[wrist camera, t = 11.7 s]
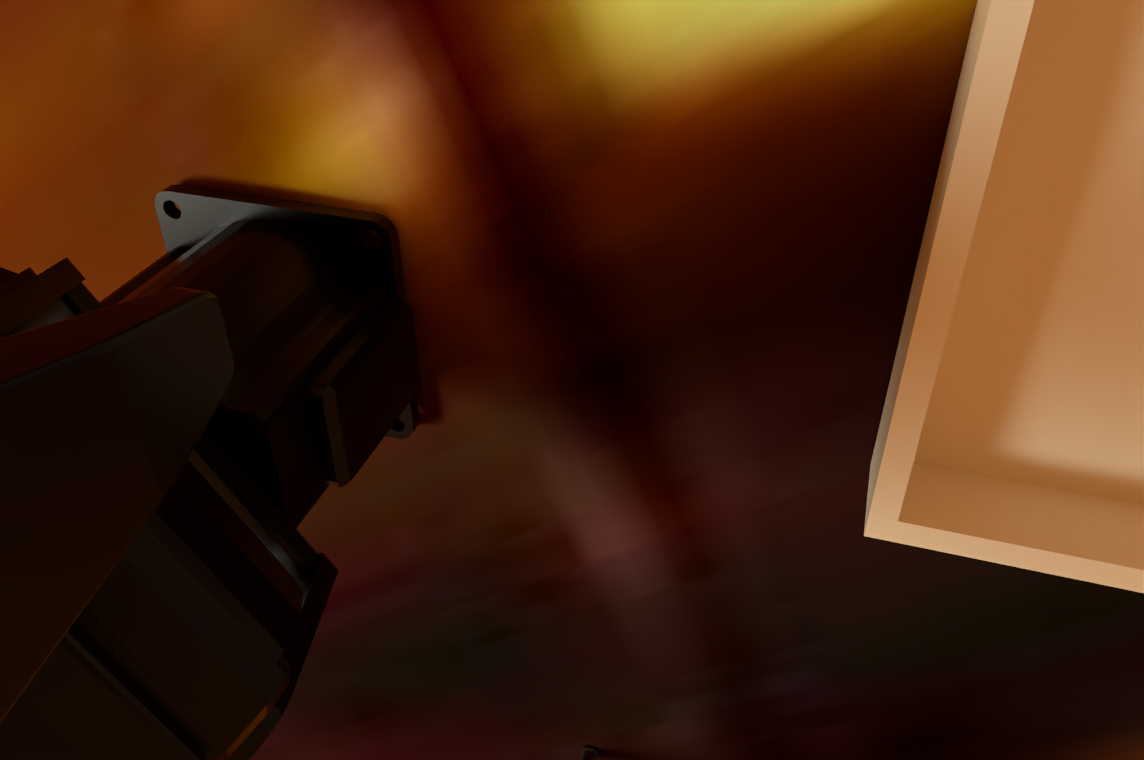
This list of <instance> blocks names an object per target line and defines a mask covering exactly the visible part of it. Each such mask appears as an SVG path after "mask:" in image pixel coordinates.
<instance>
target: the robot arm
mask: <svg viewBox="0 0 1144 760" xmlns="http://www.w3.org/2000/svg"><path fill="white" fill-rule="evenodd" d="M173 202H175V203H176V204H177V205H178V206H179V208H180V210H181V211H179V210H178V209H177V208H176V207H175V205H174V203H173ZM155 208H156V212H157V216H158V220H159V223H160V227H161V231H162V234H163V238H164V242H165V246H166V249H167V254H165V255H164V256H163V257H161V258H160V259H158V260H157V261H156V262H154V263H153V264H152V265H150V266H149V267H147V268H146V269H145V270H143V271H142V272H141V273H139V274H138V275H136V276H135V277H134V278H132V279H131V280H130V281H128V282H127V283H125V284H124V285H123V286H121V287H120V288H119V289H117V290H116V291H114V292H113V293H112V294H110V295H109V296H108V297H106V298H105V299H103V300H102V301H101V302H99V301H98V300H97V299H96V298H95V297H94V296H93V295H92V293H91V292H90V291H89V290H88V289H87V288H86V286H85V285H84V284H83V283H82V281H83V280H85V278H84V277H83V276H82V274H81V273H80V272H79V271H78V270H77V269H76V268H75V266H74V265H73V264H72V263H71V262H70V261H69V259H68V258H67V257H66V258H65V259H63V260H62V261H60V262H58V263H57V264H55V265H53V266H52V267H50V268H49V269H47V270H45V271H44V272H42V273H41V274H39V275H36V274H35V272H34V271H33V270H32V269H31V268H30V267H29V268H28V269H26V270H24V271H22V272H21V273H19V274H17V273H15V272H12V271H9V270H6V269H4V268H1V267H0V760H249V759H250V758H251V757H252V756H253V755H254V753H255V752H256V751H257V750H258V748H259V747H260V746H261V745H262V744H263V742H264V741H265V740H266V739H267V737H268V736H269V735H270V733H271V732H272V730H273V729H274V727H275V726H276V724H277V723H278V721H279V720H280V718H281V716H282V715H283V713H284V711H285V709H286V707H287V705H288V702H289V700H290V698H291V696H292V693H293V691H294V688H295V685H296V683H297V680H298V677H299V675H300V672H301V669H302V667H303V664H304V661H305V659H306V656H307V653H308V651H309V648H310V645H311V643H312V640H313V637H314V635H315V632H316V629H317V627H318V624H319V622H320V619H321V616H322V614H323V611H324V608H325V606H326V603H327V600H328V598H329V595H330V592H331V590H332V587H333V584H334V582H335V579H336V576H337V574H338V570H337V568H336V567H335V566H334V565H333V564H332V563H331V562H330V560H329V559H328V558H327V557H326V556H325V555H324V554H323V553H317V552H316V551H315V550H314V548H313V547H312V546H311V545H310V544H309V543H308V542H307V540H306V539H305V538H304V537H303V536H302V535H301V534H300V532H299V531H298V530H297V529H296V528H297V526H298V525H299V524H300V522H301V521H302V520H303V519H304V517H305V516H306V515H307V513H308V512H309V511H310V509H311V508H312V507H313V506H314V504H315V503H316V502H317V500H318V499H319V498H320V497H321V495H322V494H323V493H324V491H325V490H326V489H327V487H328V486H329V485H334V486H339V487H343V486H344V485H346V484H347V483H348V482H349V481H351V480H352V479H353V478H354V476H355V475H356V474H357V472H358V471H359V470H360V468H361V467H362V466H363V464H364V463H365V462H366V460H367V459H368V458H369V456H370V455H371V454H372V452H373V451H374V450H375V448H376V447H377V446H378V444H379V443H380V442H381V440H382V439H383V438H384V436H388V437H393V438H398V439H405V438H407V437H410V435H411V434H412V433H413V431H414V430H415V428H416V427H417V426H418V424H419V411H418V403H417V394H416V393H417V392H418V391H419V389H420V386H421V384H420V375H419V366H418V357H417V348H416V339H415V329H414V320H413V311H412V308H411V306H410V305H409V303H408V301H407V300H406V298H405V289H404V280H403V271H402V263H401V254H400V245H399V236H398V232H397V229H396V227H395V226H394V224H393V223H392V221H391V220H389V219H388V218H387V217H385V216H383V215H380V214H377V213H371V212H364V211H357V210H350V209H343V208H336V207H329V206H322V205H315V204H308V203H301V202H295V201H288V200H281V199H274V198H267V197H260V196H253V195H246V194H239V193H232V192H225V191H218V190H211V189H204V188H197V187H190V186H183V185H171V186H169V187H168V188H166V189H164V190H163V191H161V192H160V193H159V194H157V195H156V198H155ZM370 230H372V231H375V232H376V233H377V234H378V235H379V236H380V238H381V241H382V242H379V241H376V240H375V239H374V238H373V237H372V236H371V234H370ZM398 418H400V419H401V420H402V421H403V422H404V423H402V422H400V421H398V420H397V419H398Z"/></svg>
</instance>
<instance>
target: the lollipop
mask: <svg viewBox="0 0 1144 760" xmlns="http://www.w3.org/2000/svg"><path fill="white" fill-rule="evenodd" d="M580 752H581V754H582V756H581V759H580V760H598V759H599V758H600V756H599V753H598V752H597V751H596V750H594V749H593V748H590V747H583V748H581V749H580Z"/></svg>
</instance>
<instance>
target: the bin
mask: <svg viewBox="0 0 1144 760" xmlns="http://www.w3.org/2000/svg"><path fill="white" fill-rule="evenodd" d="M864 536H867V537H872V538H877V539H882V540H886V541H891V542H896V543H901V544H906V545H911V546H916V547H921V548H926V549H930V550H935V551H940V552H945V553H950V554H955V555H960V556H965V557H970V558H975V559H979V560H984V561H989V562H994V563H999V564H1004V565H1009V566H1014V567H1019V568H1023V569H1028V570H1033V571H1038V572H1043V573H1048V574H1053V575H1058V576H1063V577H1067V578H1072V579H1077V580H1082V581H1087V582H1092V583H1097V584H1102V585H1107V586H1111V587H1116V588H1121V589H1126V590H1131V591H1136V592H1141V593H1144V0H977V4H976V8H975V13H974V17H973V21H972V26H971V30H970V34H969V39H968V43H967V47H966V52H965V56H964V60H963V65H962V69H961V73H960V78H959V82H958V86H957V91H956V95H955V100H954V104H953V108H952V113H951V117H950V121H949V126H948V130H947V134H946V139H945V143H944V147H943V152H942V156H941V160H940V165H939V169H938V173H937V178H936V182H935V186H934V191H933V195H932V200H931V204H930V208H929V213H928V217H927V221H926V226H925V230H924V234H923V239H922V243H921V247H920V252H919V256H918V260H917V265H916V269H915V273H914V278H913V282H912V286H911V291H910V295H909V299H908V304H907V308H906V313H905V317H904V321H903V326H902V330H901V334H900V339H899V343H898V347H897V352H896V356H895V360H894V365H893V369H892V373H891V378H890V382H889V386H888V391H887V395H886V399H885V404H884V408H883V413H882V417H881V421H880V426H879V430H878V434H877V439H876V443H875V447H874V452H873V456H872V460H871V465H870V476H869V486H868V497H867V507H866V518H865V529H864Z"/></svg>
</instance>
